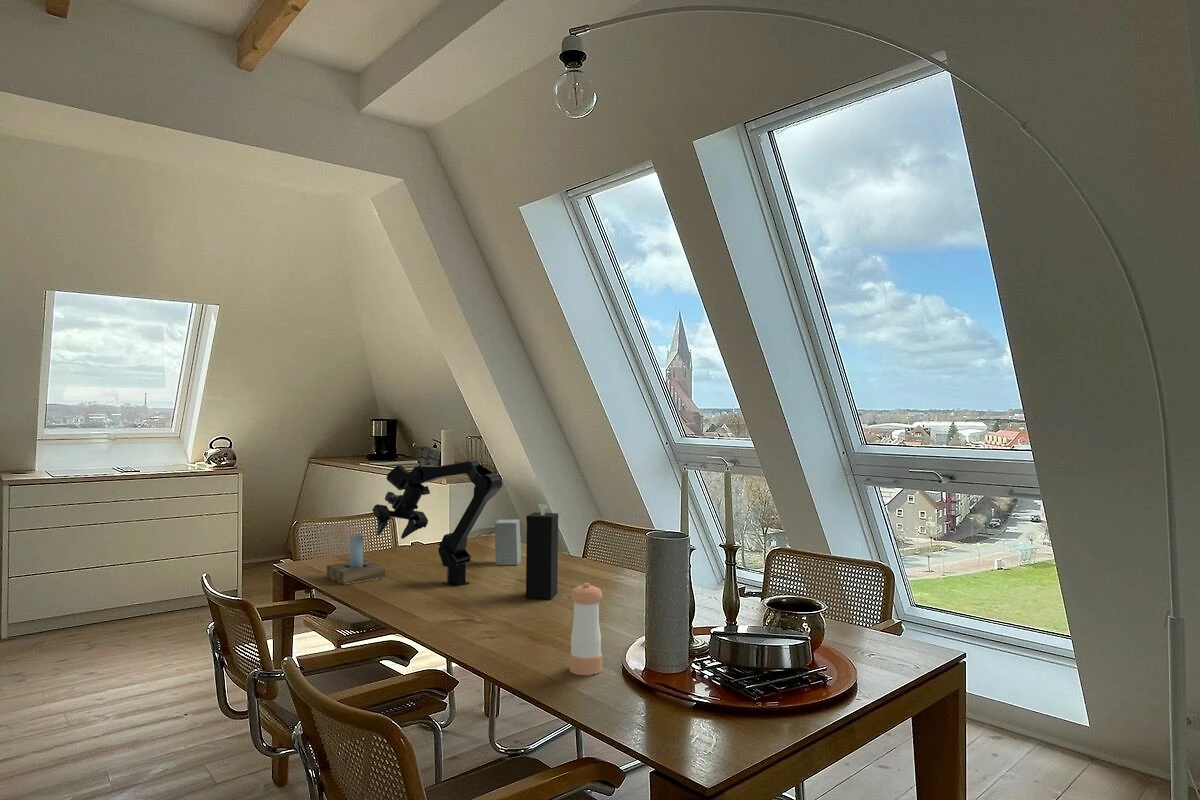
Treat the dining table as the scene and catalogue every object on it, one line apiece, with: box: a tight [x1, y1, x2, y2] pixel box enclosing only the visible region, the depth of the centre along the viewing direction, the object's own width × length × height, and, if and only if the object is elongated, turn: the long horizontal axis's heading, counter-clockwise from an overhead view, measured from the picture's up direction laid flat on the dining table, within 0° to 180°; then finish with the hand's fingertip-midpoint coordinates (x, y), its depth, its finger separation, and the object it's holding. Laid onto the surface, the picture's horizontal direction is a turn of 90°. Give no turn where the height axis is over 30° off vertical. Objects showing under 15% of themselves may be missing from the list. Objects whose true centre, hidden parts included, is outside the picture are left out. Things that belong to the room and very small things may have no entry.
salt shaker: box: [568, 582, 603, 676], centre depth 171 cm, size 7×7×19 cm
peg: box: [348, 534, 364, 569], centre depth 256 cm, size 4×4×14 cm
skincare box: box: [494, 519, 522, 566], centre depth 281 cm, size 8×7×16 cm
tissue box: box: [525, 503, 559, 600], centre depth 236 cm, size 8×8×28 cm
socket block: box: [326, 559, 386, 584], centre depth 256 cm, size 14×14×4 cm
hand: (389, 536), depth 261 cm, fingers open, 9 cm apart
